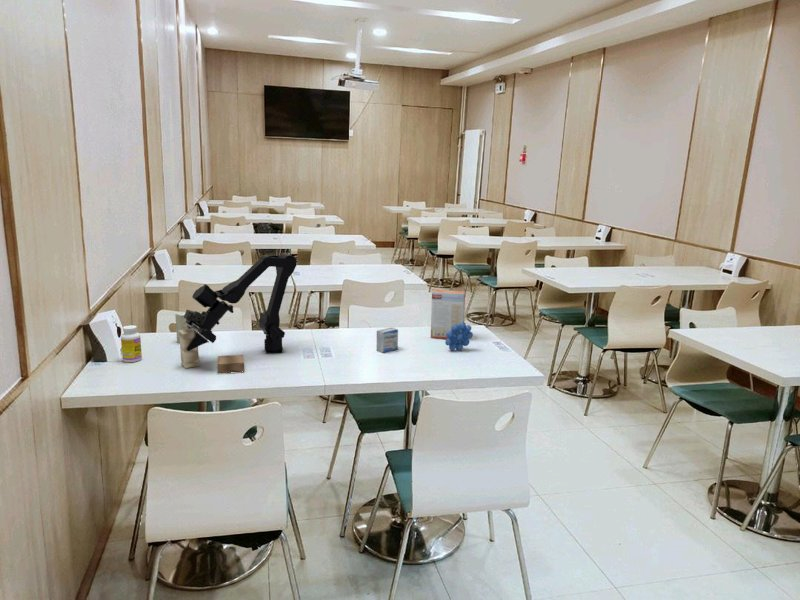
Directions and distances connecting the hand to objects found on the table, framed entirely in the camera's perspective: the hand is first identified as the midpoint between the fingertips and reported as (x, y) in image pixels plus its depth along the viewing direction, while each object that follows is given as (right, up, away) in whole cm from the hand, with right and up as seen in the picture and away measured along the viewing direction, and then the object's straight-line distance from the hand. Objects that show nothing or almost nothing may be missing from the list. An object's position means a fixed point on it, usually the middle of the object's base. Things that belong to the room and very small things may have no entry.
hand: (185, 348), depth 213 cm
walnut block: (+17, -8, 0) cm, 18 cm away
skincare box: (-10, 0, +30) cm, 32 cm away
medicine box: (+73, -3, +26) cm, 77 cm away
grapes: (+102, -3, +28) cm, 106 cm away
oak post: (+1, -6, +2) cm, 7 cm away
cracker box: (+99, +1, +44) cm, 108 cm away
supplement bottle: (-22, -5, +7) cm, 24 cm away
